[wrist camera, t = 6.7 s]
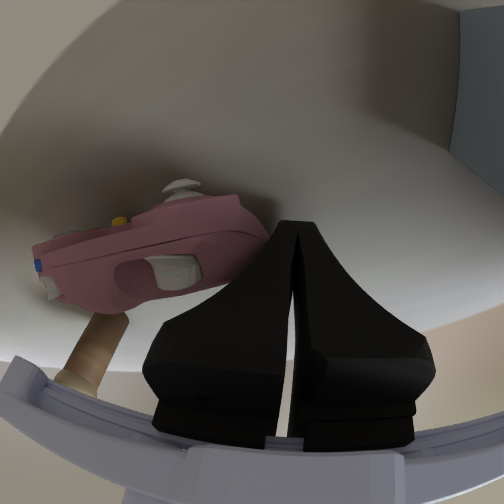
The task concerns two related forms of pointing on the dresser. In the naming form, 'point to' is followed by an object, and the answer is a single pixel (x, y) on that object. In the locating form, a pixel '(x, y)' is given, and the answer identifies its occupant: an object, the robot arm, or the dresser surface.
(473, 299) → the dresser surface
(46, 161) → the dresser surface
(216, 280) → the video game controller
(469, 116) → the hollow square tube
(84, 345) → the post
